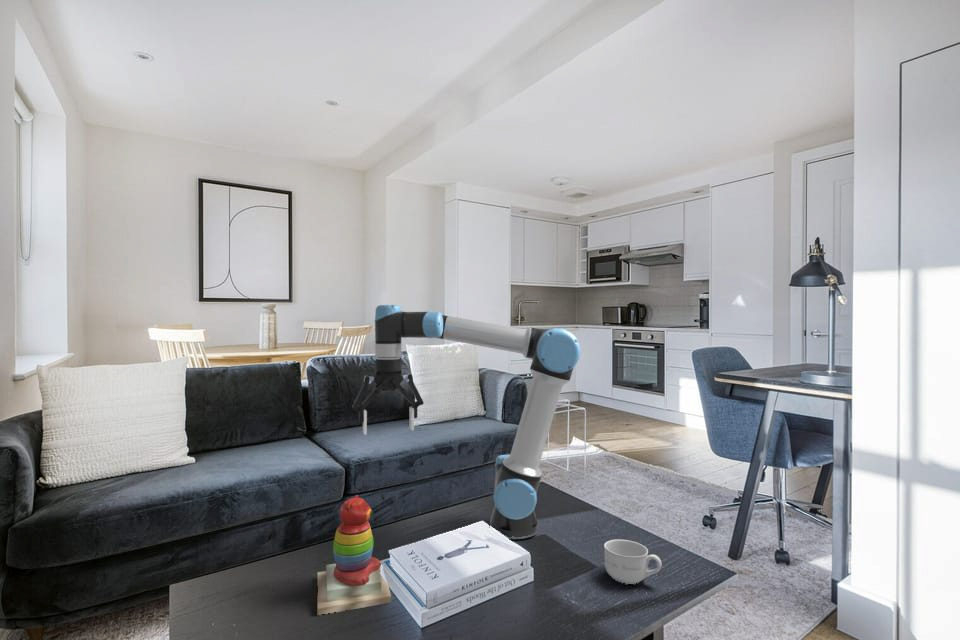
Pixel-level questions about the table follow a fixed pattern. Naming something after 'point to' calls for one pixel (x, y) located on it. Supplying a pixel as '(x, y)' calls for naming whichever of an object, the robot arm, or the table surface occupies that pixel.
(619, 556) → the teacup
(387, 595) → the plinth
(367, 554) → the stacking bear
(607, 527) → the table surface
